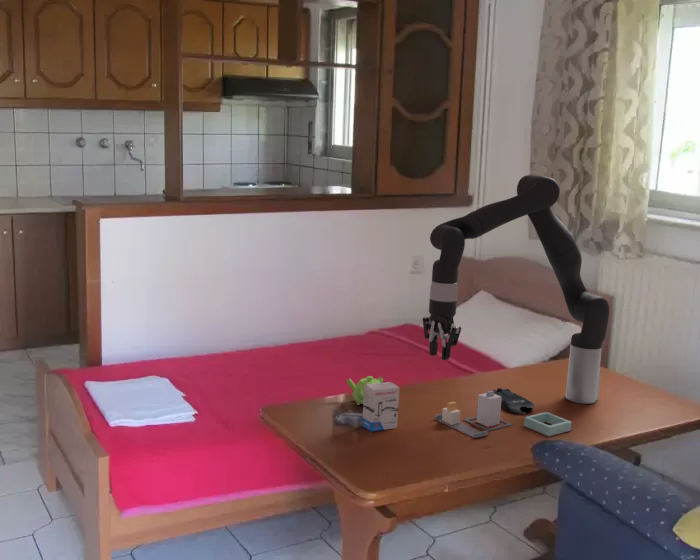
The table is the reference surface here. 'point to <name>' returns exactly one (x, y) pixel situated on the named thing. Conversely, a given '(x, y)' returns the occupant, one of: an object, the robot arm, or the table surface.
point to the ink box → (380, 406)
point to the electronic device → (513, 401)
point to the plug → (489, 409)
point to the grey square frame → (486, 428)
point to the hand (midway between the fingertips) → (439, 356)
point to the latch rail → (463, 428)
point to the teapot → (362, 387)
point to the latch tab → (451, 414)
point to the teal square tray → (538, 424)
